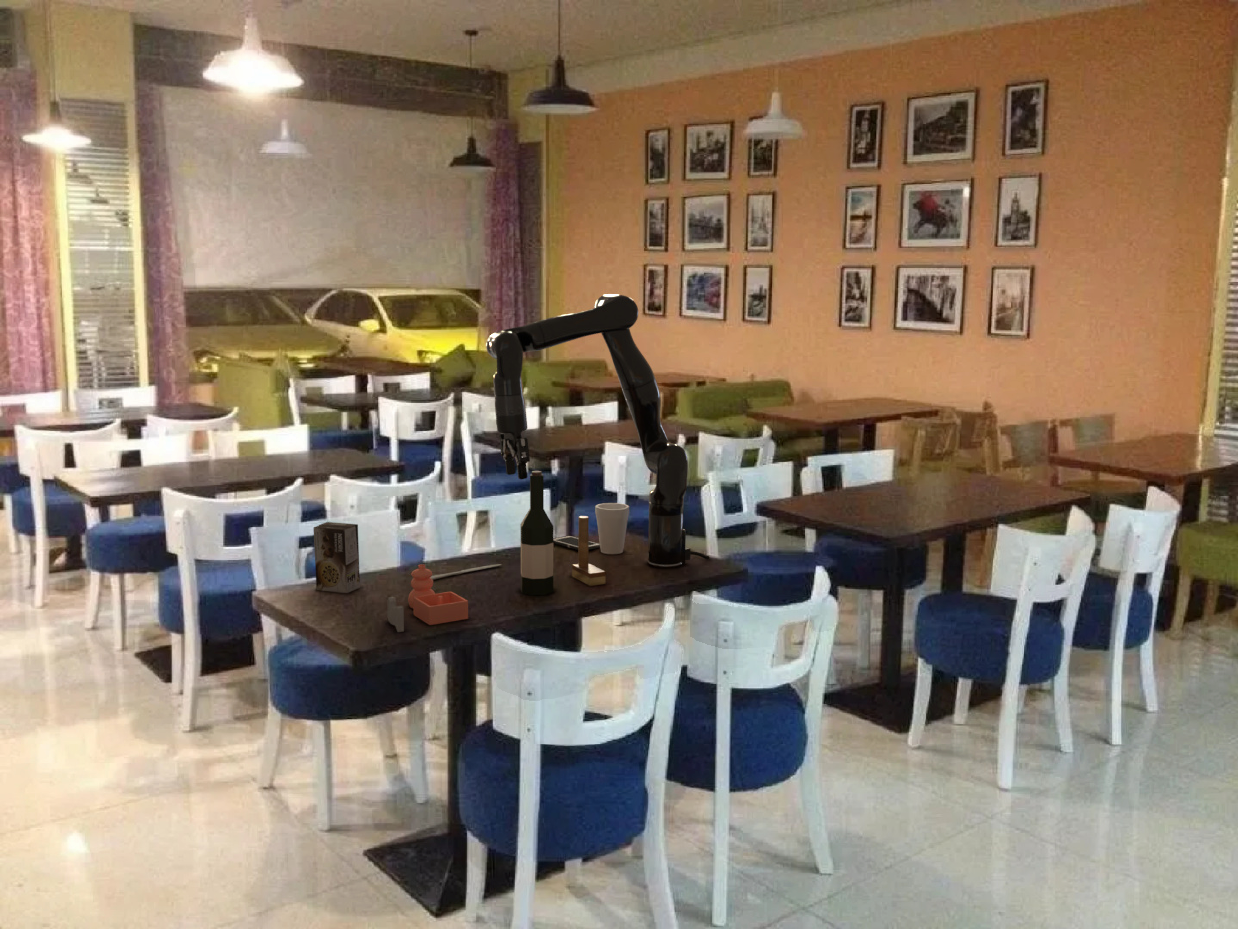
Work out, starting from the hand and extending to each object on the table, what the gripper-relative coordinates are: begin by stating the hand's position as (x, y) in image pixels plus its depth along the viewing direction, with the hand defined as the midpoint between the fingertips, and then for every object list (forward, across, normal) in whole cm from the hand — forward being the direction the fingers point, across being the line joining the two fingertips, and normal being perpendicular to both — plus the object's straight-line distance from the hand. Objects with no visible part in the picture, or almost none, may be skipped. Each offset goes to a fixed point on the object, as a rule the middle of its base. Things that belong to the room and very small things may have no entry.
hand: (516, 476), depth 289 cm
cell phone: (+29, +32, -27) cm, 51 cm away
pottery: (+26, -15, +29) cm, 42 cm away
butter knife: (+26, +15, +12) cm, 33 cm away
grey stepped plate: (+25, -22, +40) cm, 52 cm away
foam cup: (+30, +21, -34) cm, 50 cm away
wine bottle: (+28, -8, 0) cm, 29 cm away
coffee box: (+24, +13, +45) cm, 52 cm away
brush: (+29, -4, -15) cm, 33 cm away
